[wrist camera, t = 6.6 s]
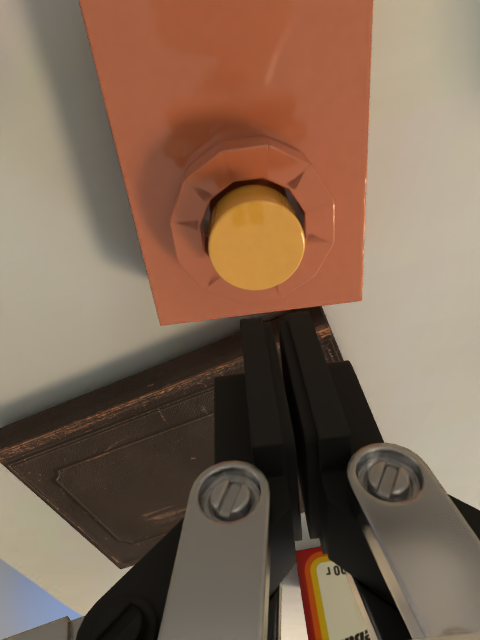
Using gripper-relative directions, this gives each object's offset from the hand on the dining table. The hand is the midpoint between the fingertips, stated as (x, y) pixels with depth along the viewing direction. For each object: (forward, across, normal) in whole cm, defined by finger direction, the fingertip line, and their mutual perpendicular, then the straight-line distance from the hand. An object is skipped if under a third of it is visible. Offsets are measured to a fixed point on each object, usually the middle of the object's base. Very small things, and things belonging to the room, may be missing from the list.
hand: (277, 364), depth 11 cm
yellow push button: (+9, 0, 0) cm, 9 cm away
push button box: (+14, 0, -2) cm, 14 cm away
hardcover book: (+15, +5, +18) cm, 23 cm away
